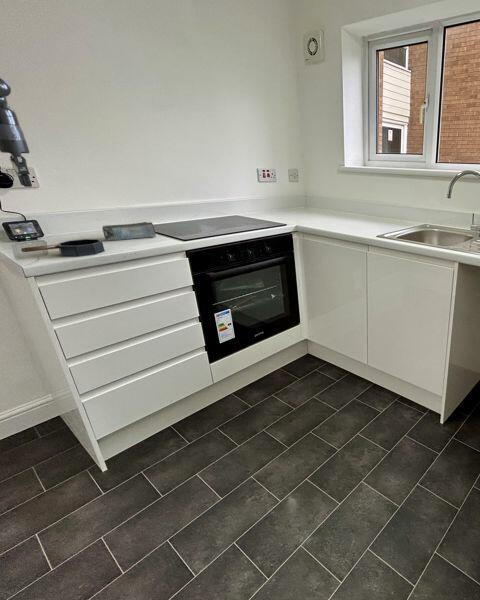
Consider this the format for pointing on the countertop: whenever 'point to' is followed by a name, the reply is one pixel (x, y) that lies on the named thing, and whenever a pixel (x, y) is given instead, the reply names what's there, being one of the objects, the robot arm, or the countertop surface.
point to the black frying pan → (72, 247)
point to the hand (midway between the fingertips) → (26, 186)
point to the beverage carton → (129, 231)
